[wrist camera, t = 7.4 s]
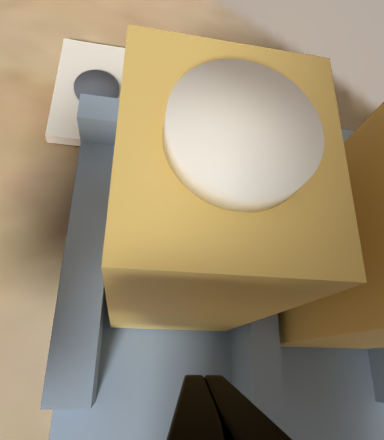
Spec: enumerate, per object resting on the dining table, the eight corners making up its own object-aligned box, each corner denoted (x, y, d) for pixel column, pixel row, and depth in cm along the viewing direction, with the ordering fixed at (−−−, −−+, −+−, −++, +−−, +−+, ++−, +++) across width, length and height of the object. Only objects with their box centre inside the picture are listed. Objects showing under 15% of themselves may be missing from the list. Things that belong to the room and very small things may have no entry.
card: (249, 165, 19) (254, 157, 18) (47, 142, 17) (44, 132, 17) (244, 75, 21) (249, 65, 21) (65, 47, 20) (63, 35, 19)
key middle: (365, 348, 15) (699, 322, 6) (264, 345, 15) (488, 312, 6) (347, 235, 17) (589, 96, 8) (257, 227, 16) (419, 67, 8)
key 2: (225, 331, 14) (391, 274, 6) (110, 327, 14) (99, 256, 5) (222, 214, 16) (344, 35, 8) (122, 205, 16) (129, -4, 7)
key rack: (535, 505, 15) (709, 563, 11) (40, 534, 12) (-7, 633, 8) (451, 202, 21) (545, 156, 16) (89, 165, 17) (80, 93, 13)
